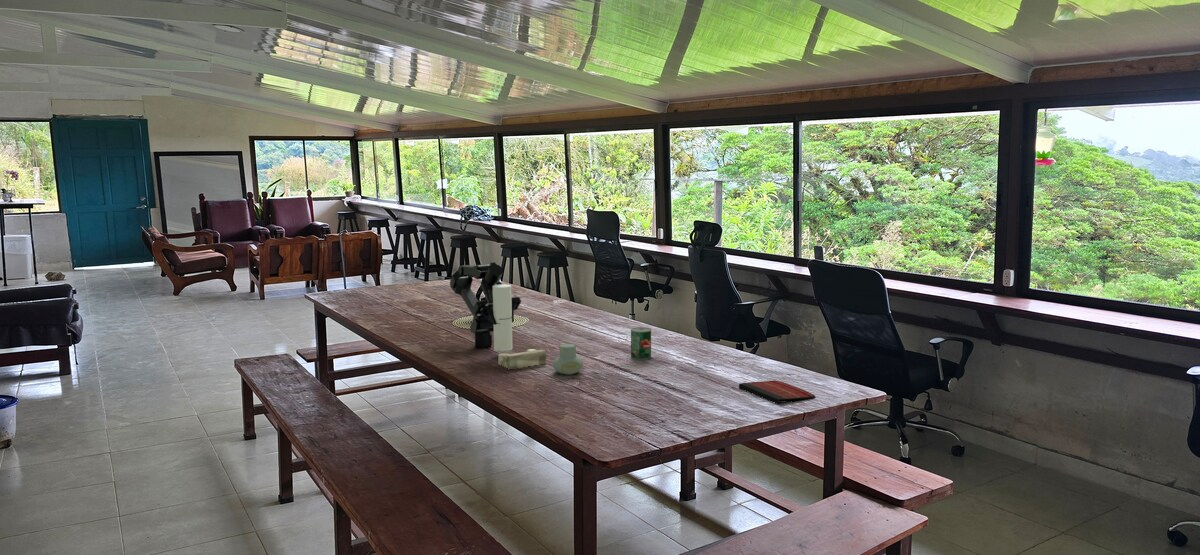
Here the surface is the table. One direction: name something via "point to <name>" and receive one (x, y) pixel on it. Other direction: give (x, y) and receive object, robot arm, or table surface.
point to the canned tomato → (640, 343)
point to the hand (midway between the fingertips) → (504, 323)
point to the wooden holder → (522, 359)
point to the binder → (776, 391)
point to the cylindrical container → (502, 317)
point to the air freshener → (567, 360)
